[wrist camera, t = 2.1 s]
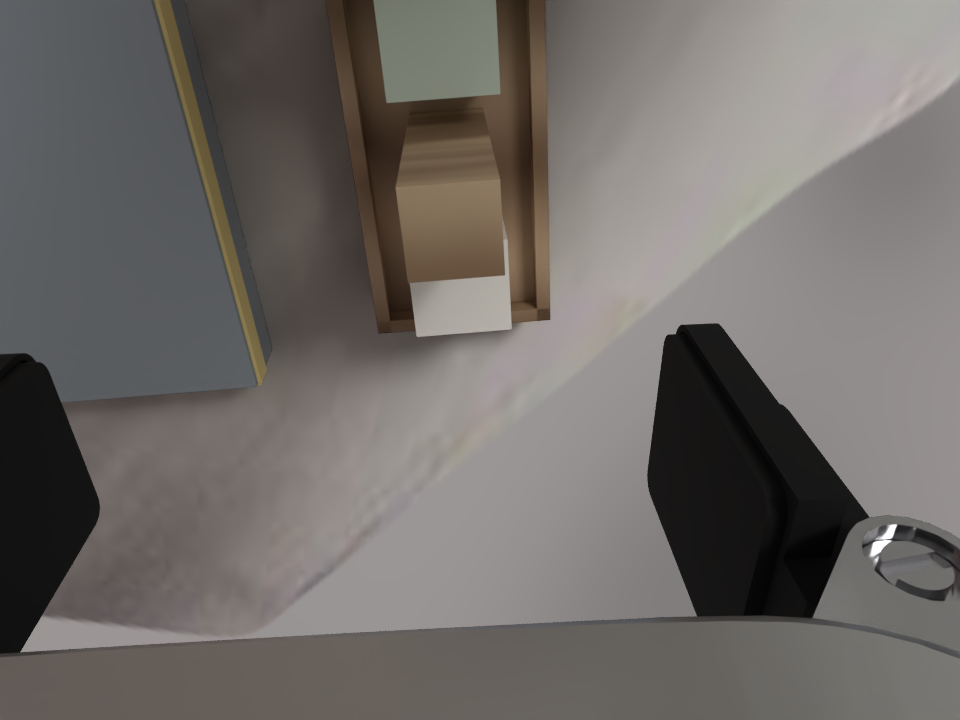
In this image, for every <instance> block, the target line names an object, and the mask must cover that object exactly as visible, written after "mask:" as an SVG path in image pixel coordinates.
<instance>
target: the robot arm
mask: <svg viewBox="0 0 960 720" xmlns="http://www.w3.org/2000/svg"><path fill="white" fill-rule="evenodd" d="M647 476H648V487H649V492H650V495H651V498H652V501H653V503H654V506H655V508H656V511H657V514H658V516H659V519H660V521H661V524H662V526H663V529H664V531H665V534H666V537H667V539H668V542H669V545H670V547H671V550H672V552H673V555H674V558H675V560H676V563H677V565H678V568H679V571H680V573H681V576H682V578H683V581H684V583H685V586H686V589H687V591H688V594H689V596H690V599H691V601H692V604H693V607H694V609H695V612H696V614H697V617H655V618H639V619H618V620H594V621H572V622H553V623H533V624H516V625H495V626H476V627H455V628H437V629H418V630H397V631H378V632H360V633H343V634H324V635H306V636H291V637H290V636H289V637H271V638H253V639H236V640H221V641H220V640H218V641H201V642H185V643H167V644H149V645H134V646H118V647H100V648H85V649H68V650H52V651H37V652H21V653H20V651H21V650H22V648H23V646H24V645H25V643H26V641H27V640H28V638H29V636H30V635H31V633H32V631H33V629H34V628H35V626H36V624H37V623H38V621H39V619H40V618H41V616H42V614H43V613H44V611H45V609H46V608H47V606H48V604H49V602H50V601H51V599H52V597H53V596H54V594H55V592H56V591H57V589H58V587H59V586H60V584H61V582H62V581H63V579H64V577H65V575H66V574H67V572H68V570H69V569H70V567H71V565H72V564H73V562H74V560H75V559H76V557H77V555H78V554H79V552H80V550H81V548H82V547H83V545H84V543H85V542H86V540H87V538H88V537H89V535H90V533H91V532H92V530H93V528H94V527H95V525H96V523H97V521H98V517H99V511H100V504H99V499H98V496H97V493H96V491H95V488H94V486H93V483H92V481H91V478H90V475H89V473H88V470H87V468H86V465H85V462H84V460H83V457H82V455H81V452H80V450H79V447H78V444H77V442H76V439H75V437H74V434H73V432H72V429H71V426H70V424H69V421H68V419H67V416H66V414H65V411H64V408H63V406H62V403H61V401H60V398H59V396H58V393H57V390H56V388H55V385H54V383H53V380H52V378H51V375H50V372H49V370H48V369H47V367H46V366H45V365H44V364H43V363H41V362H36V361H35V359H34V358H33V357H32V356H31V355H29V354H26V353H15V354H0V720H960V539H959V538H958V537H956V536H955V535H953V534H952V533H950V532H947V531H945V530H943V529H941V528H939V527H936V526H934V525H932V524H930V523H926V522H923V521H920V520H916V519H912V518H909V517H901V516H890V515H885V516H876V517H869V516H868V515H867V513H866V512H865V511H864V509H863V508H862V507H861V505H860V504H859V503H858V501H857V500H856V499H855V497H854V496H853V495H852V493H851V492H850V491H849V489H848V488H847V487H846V486H845V484H844V483H843V482H842V480H841V479H840V478H839V476H838V475H837V474H836V472H835V471H834V470H833V468H832V467H831V466H830V465H829V463H828V462H827V460H826V459H825V458H824V457H823V455H822V454H821V452H820V451H819V450H818V449H817V447H816V446H815V445H814V443H813V442H812V441H811V439H810V438H809V437H808V435H807V434H806V433H805V431H804V430H803V429H802V427H801V426H800V425H799V423H798V422H797V421H796V419H795V418H794V417H793V415H792V414H791V413H790V411H789V410H788V409H786V407H784V406H783V405H781V404H779V403H778V402H777V400H776V399H775V398H774V396H773V395H772V393H771V392H770V391H769V389H768V388H767V387H766V385H765V384H764V383H763V381H762V380H761V379H760V377H759V376H758V375H757V373H756V372H755V371H754V369H753V368H752V367H751V365H750V364H749V363H748V361H747V360H746V359H745V358H744V356H743V355H742V353H741V352H740V351H739V349H738V348H737V347H736V345H735V344H734V343H733V341H732V340H731V338H730V337H729V336H728V334H727V333H726V332H725V331H724V329H723V328H722V327H721V326H720V325H719V324H692V325H680V326H679V328H678V329H677V332H676V334H673V335H667V336H666V338H665V341H664V347H663V355H662V363H661V371H660V378H659V386H658V394H657V402H656V410H655V417H654V425H653V433H652V441H651V449H650V456H649V464H648V474H647Z"/></svg>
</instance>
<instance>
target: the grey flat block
mask: <svg viewBox="0 0 960 720" xmlns="http://www.w3.org/2000/svg"><path fill="white" fill-rule="evenodd" d="M271 351H272V347H271V343H270V339H269V335H268V331H267V327H266V323H265V319H264V315H263V311H262V307H261V304H260V300H259V296H258V292H257V288H256V284H255V280H254V276H253V272H252V268H251V264H250V260H249V256H248V252H247V248H246V244H245V240H244V236H243V232H242V228H241V224H240V220H239V216H238V212H237V208H236V205H235V201H234V197H233V193H232V189H231V185H230V181H229V177H228V173H227V169H226V165H225V161H224V157H223V153H222V149H221V145H220V141H219V137H218V133H217V129H216V125H215V121H214V117H213V113H212V110H211V106H210V102H209V98H208V94H207V90H206V86H205V82H204V78H203V74H202V70H201V66H200V62H199V58H198V54H197V50H196V46H195V42H194V38H193V34H192V30H191V26H190V22H189V18H188V15H187V11H186V7H185V3H184V0H0V354H15V353H26V354H29V355H31V356H32V357H33V358H34V359H35V361H36V362H41V363H43V364H44V365H45V366H46V367H47V369H48V370H49V372H50V375H51V378H52V380H53V383H54V385H55V388H56V390H57V393H58V396H59V398H60V401H61V403H63V402H76V401H88V400H100V399H113V398H125V397H137V396H150V395H162V394H174V393H187V392H199V391H211V390H224V389H236V388H248V387H257V386H260V385H261V384H262V382H263V380H264V377H265V375H266V372H267V369H266V363H267V361H268V359H269V356H270V354H271Z"/></svg>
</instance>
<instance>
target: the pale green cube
mask: <svg viewBox="0 0 960 720" xmlns="http://www.w3.org/2000/svg"><path fill="white" fill-rule="evenodd" d="M373 1H374V9H375V17H376V25H377V32H378V40H379V48H380V56H381V63H382V71H383V79H384V87H385V95H386V102H387V103H394V102H407V101H420V100H433V99H445V98H458V97H471V96H484V95H496V94H500V74H499V53H498V33H497V12H496V0H373Z"/></svg>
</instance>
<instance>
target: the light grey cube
mask: <svg viewBox="0 0 960 720" xmlns="http://www.w3.org/2000/svg"><path fill="white" fill-rule="evenodd" d="M502 224H503V243H504V263H505V275H504V276H491V277H479V278H466V279H454V280H441V281H429V282H416V283H410V289H411V297H412V305H413V313H414V320H415V328H416V336H417V337H424V336H436V335H448V334H461V333H473V332H486V331H498V330H511V329H512V323H511V302H510V282H509V261H508V240H507V235H506V231H505V226H504V221H503V217H502Z"/></svg>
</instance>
